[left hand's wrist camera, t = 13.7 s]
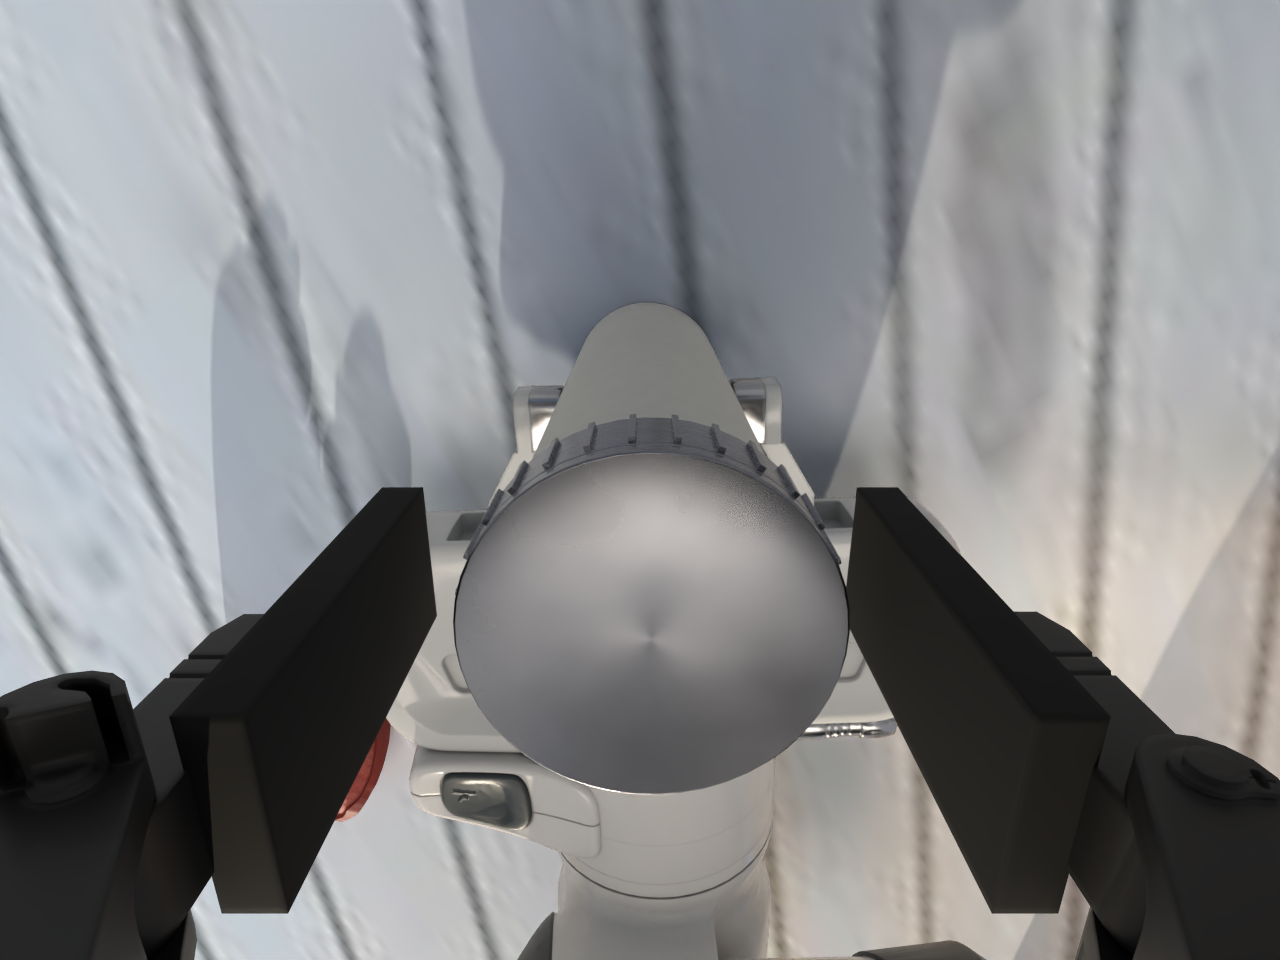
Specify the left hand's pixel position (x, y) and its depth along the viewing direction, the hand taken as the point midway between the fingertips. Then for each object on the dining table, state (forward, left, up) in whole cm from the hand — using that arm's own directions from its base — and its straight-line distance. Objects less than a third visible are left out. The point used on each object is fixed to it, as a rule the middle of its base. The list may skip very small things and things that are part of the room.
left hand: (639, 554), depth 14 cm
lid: (0, 0, +3) cm, 3 cm away
